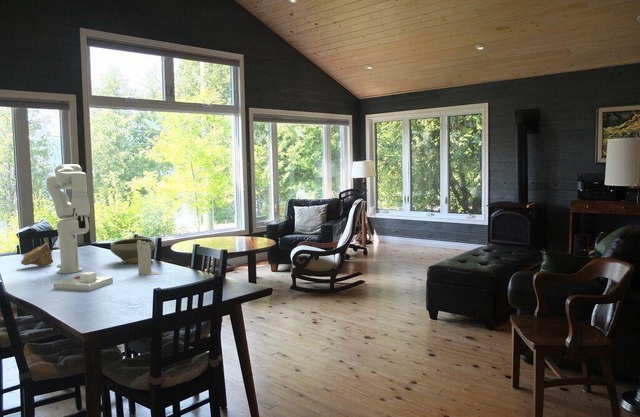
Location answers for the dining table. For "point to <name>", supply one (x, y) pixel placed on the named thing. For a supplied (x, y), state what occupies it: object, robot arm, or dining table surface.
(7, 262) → the dining table surface
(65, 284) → the socket plate
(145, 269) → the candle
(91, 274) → the plug
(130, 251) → the bowl
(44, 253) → the stone
